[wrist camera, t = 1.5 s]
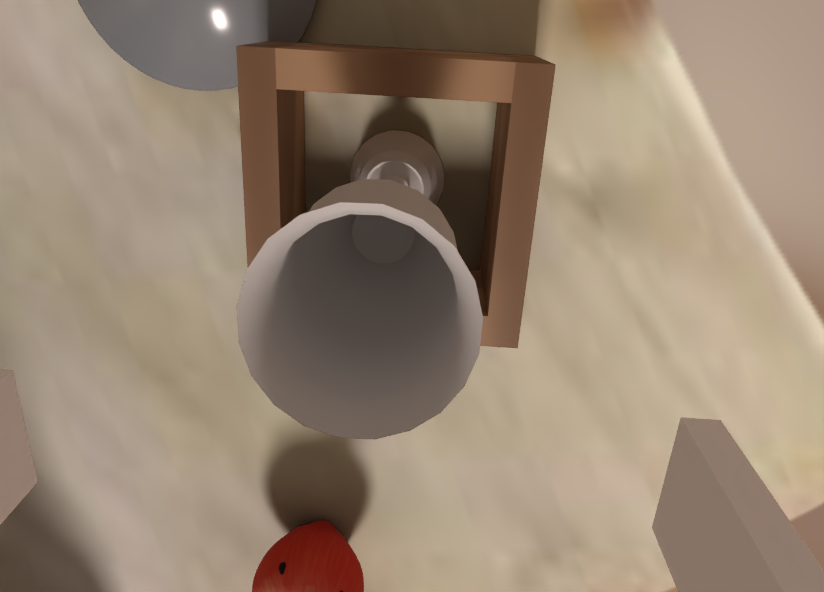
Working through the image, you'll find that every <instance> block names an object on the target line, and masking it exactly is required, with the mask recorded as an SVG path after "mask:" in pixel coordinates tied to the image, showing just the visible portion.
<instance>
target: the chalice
mask: <svg viewBox="0 0 824 592" xmlns="http://www.w3.org/2000/svg"><path fill="white" fill-rule="evenodd" d="M443 187H444V170H443V167H442V163H441V159H440V157H439V156H438V154H437V153H436V151H435V150H434V148H433V146H431V145H430V144H429V143H428V142H427V141H425V140H424V139H423V138H422V137H420V136H418V135H415V134H413V133H410V132H407V131H395V130H390V131H387V132H383V133H380V134H376V135H375V136H373V137H372V138H370V139H369V140H368V141H366V142H365V143H363V145H362V146H361V147H360V149H359V150H358V151H357V153H356V154H355V156H354V159H353V162H352V165H351V168H350V183H348V184H345V185H342V186H339V187H336V188H334V189H333V190H332V191H330V192H329V193H328V194H326V195H325V196H324V197H322V198H321V199H320V200H318V201H317V202H316V203H314V204H313V206H312V207H311V209H310V210H309V212H307V213H304V214H301V215H299V216H298V217H296V218H295V219H294V220H292V221H291V222H290V223H288V224H287V225H286V226H284V227H283V228H282V229H280V230H279V231H278V232H276V233H275V234H274V235H272V236H271V237H270V238H268V239H267V241H266V242H265V244H264V245H263V247H262V248H261V250H260V251H259V252H258V254H257V255H256V257H255V258H254V260H253V261H252V263H251V264H250V266H249V267H248V269H247V270H246V274H245V277H244V281H243V285H242V288H241V292H240V296H239V300H238V303H237V320H238V338H239V344H240V347H241V350H242V352H243V355H244V357H245V360H246V363H247V365H248V368H249V371H250V373H251V376H252V377H253V378H254V380H255V381H256V382H257V384H258V385H259V386H260V387H261V389H262V390H263V391H264V393H265V394H266V395H267V396H268V398H269V399H270V400H271V401H272V403H273V404H274V405H275V406H277V407H278V408H279V409H281V410H282V411H284V412H285V413H287V414H288V415H289V416H291V417H292V418H294V419H295V420H296V421H298V422H299V423H301V424H302V425H304V426H306V427H309V428H312V429H315V430H318V431H321V432H324V433H327V434H329V435H332V436H335V437H338V438H358V439H378V438H382V437H386V436H390V435H394V434H398V433H402V432H406V431H410V430H412V429H414V428H415V427H417V426H419V425H420V424H422V423H424V422H426V421H427V420H429V419H431V418H432V417H434V416H436V415H437V414H439V413H441V412H442V411H443V409H444V408H445V407H446V406H447V405H448V404H449V403H450V402H451V401H452V399H453V398H454V397H455V396H456V395H457V394H458V393H459V392H460V391H461V389H462V388H463V387H464V386H465V384H466V382H467V379H468V377H469V375H470V373H471V371H472V368H473V366H474V364H475V362H476V360H477V357H478V355H479V350H480V341H481V332H482V323H483V315H482V310H481V306H480V301H479V296H478V292H477V287H476V282H475V280H474V278H473V276H472V275H471V273H470V271H469V270H468V268H467V266H466V264H465V263H464V261H463V259H462V258H461V256H460V254H459V253H458V250H457V245H456V241H455V236H454V232H453V230H452V229H451V227H450V225H449V224H448V222H447V220H446V219H445V217H444V215H443V214H442V212H441V210H440V209H439V208H438V207H437V206H436V204H437V203H438V201H439V198H440V196H441V193H442V191H443Z"/></svg>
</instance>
